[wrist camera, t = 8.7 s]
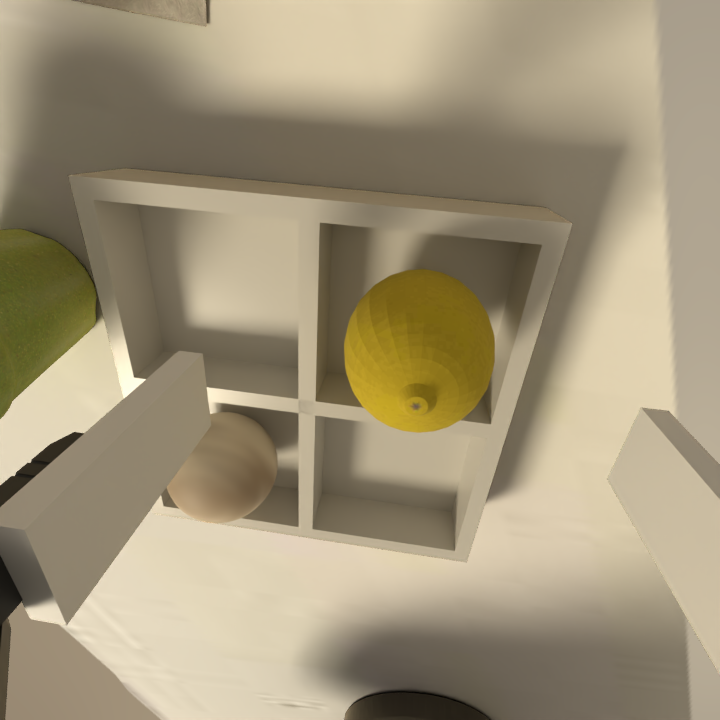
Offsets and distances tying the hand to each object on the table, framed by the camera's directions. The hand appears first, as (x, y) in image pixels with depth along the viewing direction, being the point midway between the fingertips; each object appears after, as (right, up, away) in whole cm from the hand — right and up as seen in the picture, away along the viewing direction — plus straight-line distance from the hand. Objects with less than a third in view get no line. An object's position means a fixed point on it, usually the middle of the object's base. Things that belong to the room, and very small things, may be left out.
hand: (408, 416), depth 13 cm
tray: (-3, +1, +10) cm, 10 cm away
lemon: (+1, +4, +7) cm, 8 cm away
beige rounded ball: (-8, -2, +11) cm, 14 cm away
